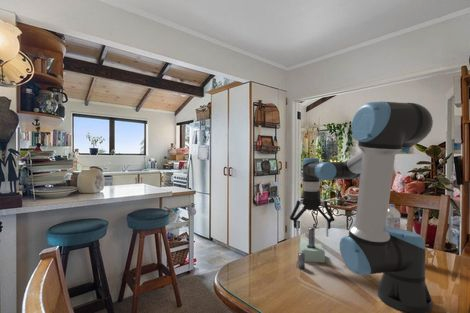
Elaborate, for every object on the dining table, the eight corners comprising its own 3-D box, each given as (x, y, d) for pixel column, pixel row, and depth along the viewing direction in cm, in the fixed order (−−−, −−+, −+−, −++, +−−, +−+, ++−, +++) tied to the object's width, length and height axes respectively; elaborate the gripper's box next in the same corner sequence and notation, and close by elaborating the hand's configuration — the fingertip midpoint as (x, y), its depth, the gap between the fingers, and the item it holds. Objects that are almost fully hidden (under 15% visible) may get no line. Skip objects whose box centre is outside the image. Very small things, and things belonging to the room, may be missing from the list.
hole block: (324, 262, 114) (324, 251, 114) (302, 261, 115) (301, 250, 115) (320, 253, 123) (320, 243, 123) (299, 252, 125) (299, 242, 125)
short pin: (305, 269, 107) (305, 255, 107) (298, 269, 107) (298, 255, 107) (304, 266, 110) (304, 252, 109) (297, 266, 110) (297, 252, 110)
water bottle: (395, 254, 123) (395, 203, 123) (403, 260, 116) (403, 205, 116) (381, 253, 123) (380, 203, 123) (388, 259, 116) (388, 205, 116)
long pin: (315, 258, 118) (315, 229, 118) (309, 258, 118) (308, 228, 118) (314, 256, 120) (314, 227, 120) (308, 256, 121) (308, 227, 121)
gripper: (336, 189, 121) (337, 233, 121) (284, 189, 125) (284, 232, 124) (341, 191, 114) (341, 238, 113) (284, 191, 117) (285, 236, 117)
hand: (311, 235), depth 119 cm, fingers open, 13 cm apart
